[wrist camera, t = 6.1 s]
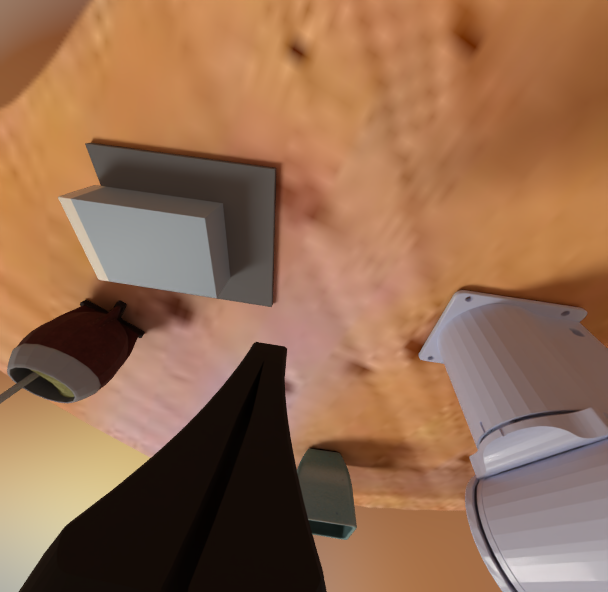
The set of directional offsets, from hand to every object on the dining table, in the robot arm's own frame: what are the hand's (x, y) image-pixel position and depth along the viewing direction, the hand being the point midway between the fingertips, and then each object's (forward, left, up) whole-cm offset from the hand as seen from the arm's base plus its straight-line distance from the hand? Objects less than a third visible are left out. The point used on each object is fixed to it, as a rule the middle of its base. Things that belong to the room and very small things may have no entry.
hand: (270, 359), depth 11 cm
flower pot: (-7, +36, -10) cm, 38 cm away
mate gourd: (+19, +11, -10) cm, 24 cm away
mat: (+8, 0, -10) cm, 13 cm away
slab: (+6, 0, -8) cm, 10 cm away
